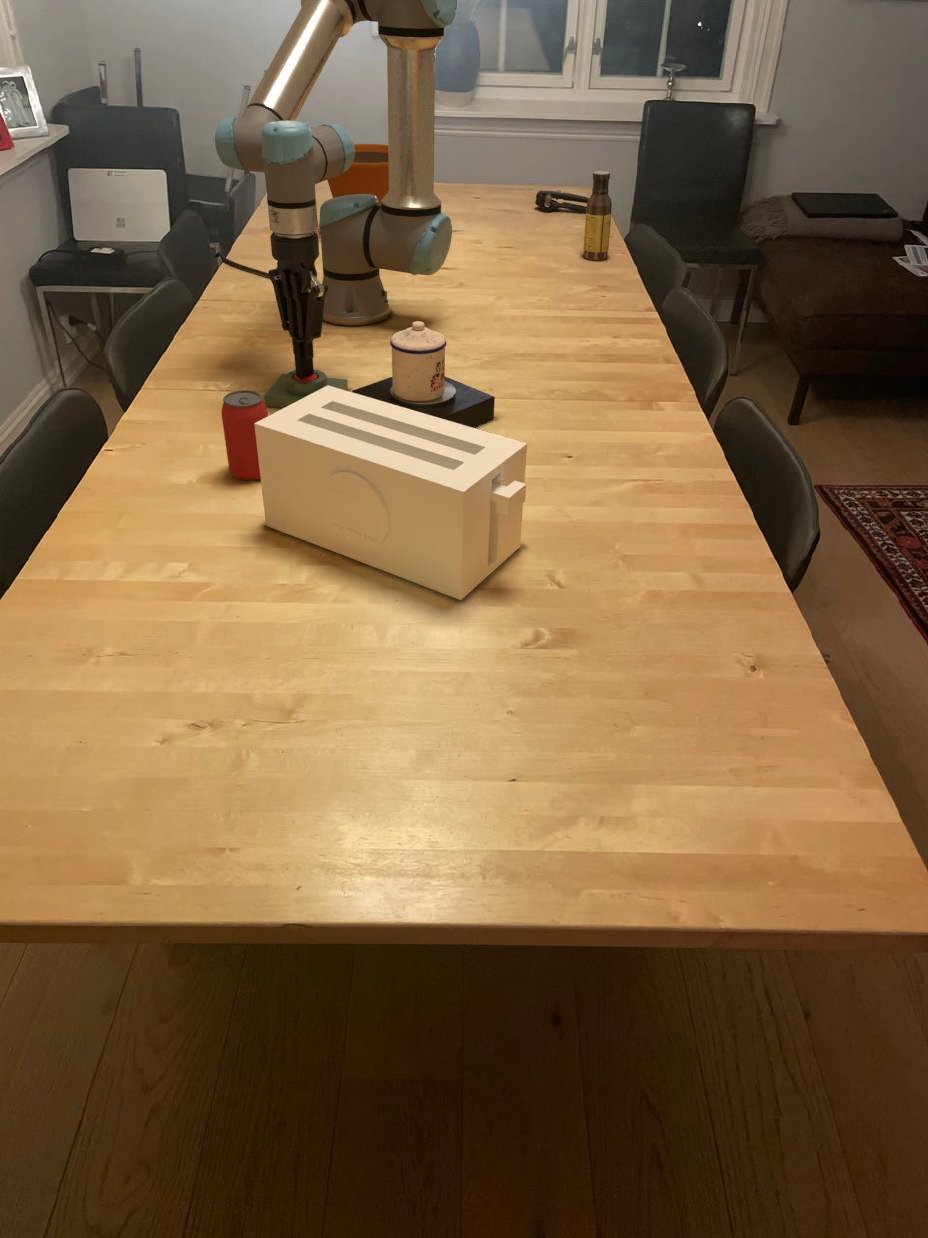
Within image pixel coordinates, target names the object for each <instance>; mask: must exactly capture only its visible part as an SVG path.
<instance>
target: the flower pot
mask: <svg viewBox="0 0 928 1238" xmlns="http://www.w3.org/2000/svg"><path fill="white" fill-rule="evenodd" d="M354 148H355V157H354V161H353V163H352V165H351V167H350V168H349V169H348V170H347V171H345V172H344V173H342V174H341V175H339V176H338V177H336V178H331V179H328V180H326V181H327V183H328V187H329V190H330V193H331V196H332V198H336V197H341V196H346V195H355V194H372V195H375V196H376V197H377V200H378V201H379V203H378V206H381V200H382V198H383V197H384V196H385V195H386V194H387V193H388V191H389V155H388V144H382V143H379V144H378V143H354Z"/></svg>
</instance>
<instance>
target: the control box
mask: <svg viewBox="0 0 928 1238" xmlns="http://www.w3.org/2000/svg"><path fill="white" fill-rule="evenodd" d="M314 373H315V374H316V375H317V379H316V380H313V381H308V382H300V381H296V380H294V375H295V374H296V369H294V370H292V371H289V372H287V373H282V374H281V375H280V376H279V377H278V378H277V379H276V380H275V382H273V384H272V385H271V386H270V388H269V389H268V390H267V391H266V393H264V395H263V401H264V403H265V406H266V408H267V407H268V408H275V409H276V408H277V409H283V408H285V407H287V406H289V405H291V404H293V403H295V402H297V401H299V400H300V399H302V398H304V397H306V396H308V395H310V394H312V393H314V392H316V391H318V390H320V389H322V388H324V387H325V386H327V385H328V386H332V387H335V388H338V389H342V390H345V391H349V384H348V379H347V378H337V377H335V378H334V377H327V375H326V373H325V372H324V371H321V370H319V369H315V368H314Z"/></svg>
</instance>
